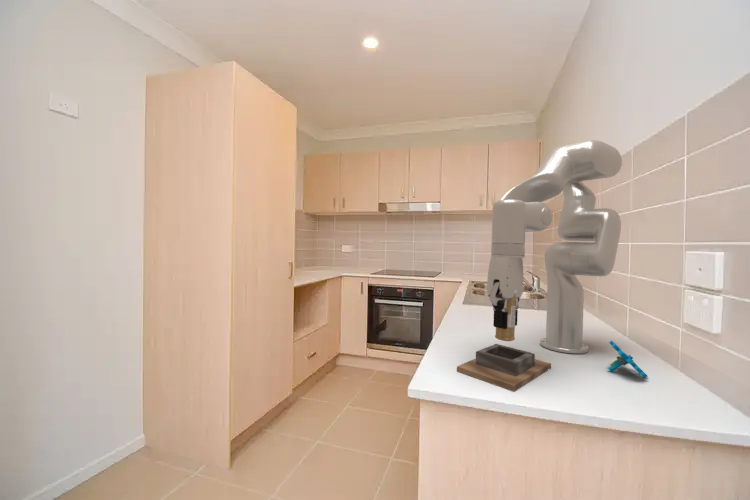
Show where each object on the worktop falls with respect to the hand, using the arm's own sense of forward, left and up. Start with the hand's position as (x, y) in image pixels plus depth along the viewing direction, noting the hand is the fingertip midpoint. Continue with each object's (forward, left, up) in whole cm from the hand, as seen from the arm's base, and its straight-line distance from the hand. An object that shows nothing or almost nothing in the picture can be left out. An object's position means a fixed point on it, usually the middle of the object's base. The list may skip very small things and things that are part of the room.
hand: (505, 325), depth 80 cm
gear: (-21, +20, -11) cm, 31 cm away
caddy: (0, 0, -11) cm, 11 cm away
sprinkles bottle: (0, 0, -4) cm, 4 cm away
